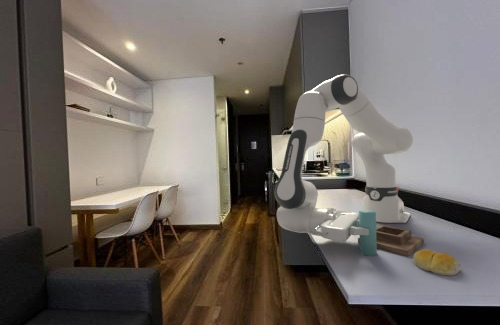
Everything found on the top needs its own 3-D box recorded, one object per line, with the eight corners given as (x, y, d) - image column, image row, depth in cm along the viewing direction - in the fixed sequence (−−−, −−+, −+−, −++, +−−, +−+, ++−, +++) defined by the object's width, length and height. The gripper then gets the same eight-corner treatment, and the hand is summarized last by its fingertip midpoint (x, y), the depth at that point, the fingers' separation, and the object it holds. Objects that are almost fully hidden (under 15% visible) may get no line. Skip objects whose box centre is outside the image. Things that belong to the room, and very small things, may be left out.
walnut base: (377, 232, 85) (376, 221, 85) (423, 243, 74) (423, 230, 74) (358, 242, 76) (357, 230, 76) (407, 256, 65) (407, 241, 65)
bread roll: (421, 257, 65) (421, 243, 65) (464, 270, 57) (463, 253, 57) (406, 265, 60) (406, 250, 60) (450, 280, 53) (449, 263, 53)
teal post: (364, 248, 72) (363, 209, 71) (379, 252, 68) (378, 211, 68) (357, 252, 69) (356, 211, 69) (372, 256, 66) (371, 214, 65)
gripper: (311, 220, 68) (363, 227, 60) (332, 206, 84) (376, 210, 76) (311, 242, 68) (364, 252, 60) (333, 224, 84) (376, 230, 76)
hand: (371, 229), depth 68 cm, fingers closed on teal post, 4 cm apart
